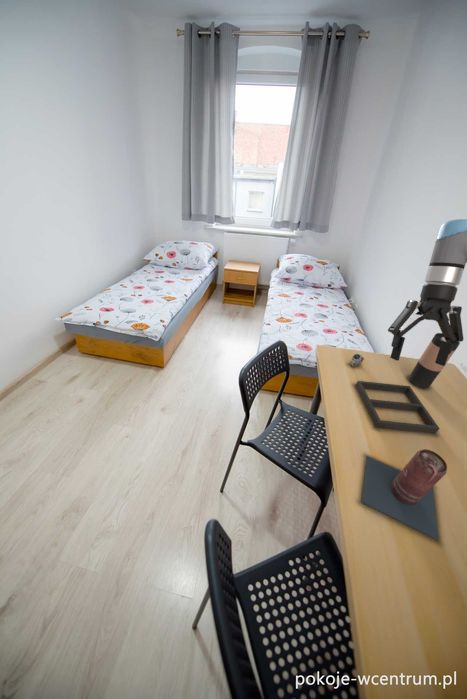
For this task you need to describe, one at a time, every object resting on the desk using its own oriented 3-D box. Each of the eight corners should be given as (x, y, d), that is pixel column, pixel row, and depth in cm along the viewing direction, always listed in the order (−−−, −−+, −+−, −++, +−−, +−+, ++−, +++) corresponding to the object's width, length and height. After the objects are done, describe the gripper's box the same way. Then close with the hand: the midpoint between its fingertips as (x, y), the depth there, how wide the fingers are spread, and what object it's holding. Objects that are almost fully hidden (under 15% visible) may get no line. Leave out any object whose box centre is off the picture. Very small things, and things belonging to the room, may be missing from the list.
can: (394, 504, 65) (424, 471, 57) (387, 478, 70) (413, 445, 62) (421, 509, 65) (455, 477, 57) (411, 483, 70) (441, 450, 62)
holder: (406, 391, 100) (409, 386, 99) (435, 433, 85) (439, 428, 84) (355, 385, 100) (357, 380, 98) (375, 427, 84) (378, 422, 83)
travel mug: (412, 373, 110) (439, 330, 98) (432, 384, 105) (463, 340, 94) (404, 380, 106) (431, 336, 94) (425, 392, 101) (456, 347, 90)
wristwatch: (346, 363, 110) (351, 353, 107) (357, 360, 113) (362, 350, 110) (353, 369, 108) (358, 359, 105) (364, 365, 111) (369, 355, 108)
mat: (431, 486, 71) (432, 485, 70) (437, 540, 60) (438, 539, 60) (366, 457, 76) (367, 456, 75) (361, 502, 65) (362, 501, 65)
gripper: (471, 290, 77) (447, 362, 82) (387, 278, 75) (368, 353, 80) (498, 291, 70) (470, 370, 75) (404, 278, 68) (382, 360, 73)
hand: (417, 361), depth 78 cm, fingers open, 13 cm apart
